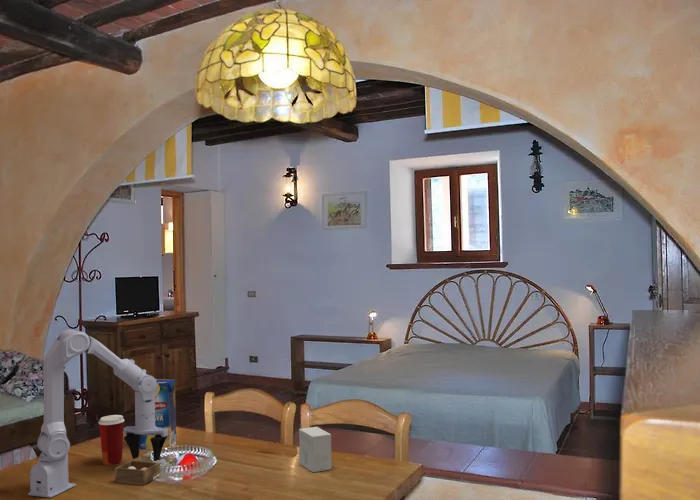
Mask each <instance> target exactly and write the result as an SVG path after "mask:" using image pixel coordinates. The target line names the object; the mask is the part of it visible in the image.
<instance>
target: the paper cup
mask: <svg viewBox="0 0 700 500" xmlns="http://www.w3.org/2000/svg"><path fill="white" fill-rule="evenodd" d="M125 422H126V421H125V419H124V416H123V415H121V414H110V415H105V416H102V417H100V419H99V421H98V422H97V423H98V424H99V432H100V433H99V434H100V435H99V436H100V447H101V457H102V464H103V465H104V466H115V465H118V464H121V463H122V462H123V449H124V447H123V446H124V430H123V428H124V423H125Z"/></svg>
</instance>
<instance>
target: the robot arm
mask: <svg viewBox="0 0 700 500" xmlns="http://www.w3.org/2000/svg"><path fill="white" fill-rule="evenodd" d="M83 353H86V354H92V355H94V356H95V357H97V358H98V359H100V360H101V361H103V362H104V363H105V364H107V365H108V366H110V367H111V368H113V374H114V375H115V376H116V377H117V378H118V379H120V380H121V381H123V382H124V383H126V384H127V385H128V386H130V387H131V389H132V390H133V391H134V415H135V416H134V417H135V420H134V421H135V425H134V426H133V425H132V426H131V425H129V426H127V425H126V426H125V427H123V435H126V436H123V441H125V442H126V444H127V446H128V449H129V451H130V455H131V458H132V460H135V459H137V458H139V457H140V450H139V441H140V436H141V435H153V436H155V437H153V438H151V439H150V440H151V443H152V447H153V449H152V452H153V453H152V455H153V462H156V461H158V460H160V459H161V454H162V450H163V449H162V447H163V445H164V442H165V440H166V438H167V435H168V429H164V428H160V427H156V425H155V396H154V393H155V391H156V389H157V387H158V383H156V379H157V378H155V377H154V376H153V375H150V374H147V370H146V369H145V368H143V369H142V368H141V367H139V366H138V365H137V364H135V363H136V361H135V360H134V359H132V358H131V359H129V358H123V359H121V358H120V357H119V356H117V355H116V354H115V353H114V352H112V351H111V350H110V349H109V348H108V347H106V346H105V345H104V344H103V343H101V342H100V341H99V340H97V339H96V338H94V337H92V336H90V335H88V334H87V333H86V332H84V331H77V330H75V329H69V328H68V329H65V330H63V331H61V333H59V334H58V335H57V336H56V337H54V340H53V343H52V345H51V346H50V347H49V350H48V351H47V352H46V354H45V356H44V358H43V423H42V425H41V427H40V434H39V437H38V439H37V442H36V443H37V448H38V450H39V451H40V454H39V457H38V459H39V460H38V462H37V463H36V464H34V465H33V466H32V467H31V469H30V470H29V471H30V472H29V482H30V483H29V484H30V485H29V487H30V489H29V492H28V493H27V496H33V497H42V498H53V497H55V496H57V495H59V494H61V493H64V492H66V491H67V490H69V489H71V488H74V487H76V486H77V484H76V483H71V482H69V451H70V450H71V449H70V448H71V442H70V441H69V439H68V436H67V429H66V425H65V417H64V415H65V405H64V404H65V393H64V391H65V386H64V385H65V382H64V381H65V379H64V378H65V376H64V375H65V369H64V368H65V365H66V364H67V363H69V362H70V360H72V359H73V358H75V357H77V356H79V355H82V354H83Z"/></svg>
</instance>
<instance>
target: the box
mask: <svg viewBox="0 0 700 500" xmlns="http://www.w3.org/2000/svg"><path fill="white" fill-rule="evenodd" d="M160 463H161V462H156V461H153V462H152V461H151V462H143V461H141V460H129V461H127V462H125V463H123V464H120V465H118V466H116V467H115V468H114V480H115V483H118V484H119V483H120V484H127V485H128V484H129V485H140V486H146V485H149V484H150V483H152V482H153V477H154V476H156V475H157V474H159V473H160V474H161V470H160ZM131 466H133V467H135V468H136V469H128V468H129V467H131ZM142 468H147V469H145V470H140V469H142Z"/></svg>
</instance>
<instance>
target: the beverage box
mask: <svg viewBox="0 0 700 500" xmlns="http://www.w3.org/2000/svg"><path fill="white" fill-rule="evenodd" d="M155 379H156V383H158V387H157V389H156V391H155V393H154V396H155V425H156V427H160V428H164V429H168V435H167V438H166V440H165V442H164V445H163V447H168V446H173V447H174V446H175V445H176V444H177V443H178V441H177V440H178V439H177V403H176V378H170V379H168V378H167V379H166V378H163V379H162V378H161V379H158V378H155ZM153 437H155V436H153V435H141V436H140V441H139V451H140V450H153V447H152V443H151V440H150V439H151V438H153Z"/></svg>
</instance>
